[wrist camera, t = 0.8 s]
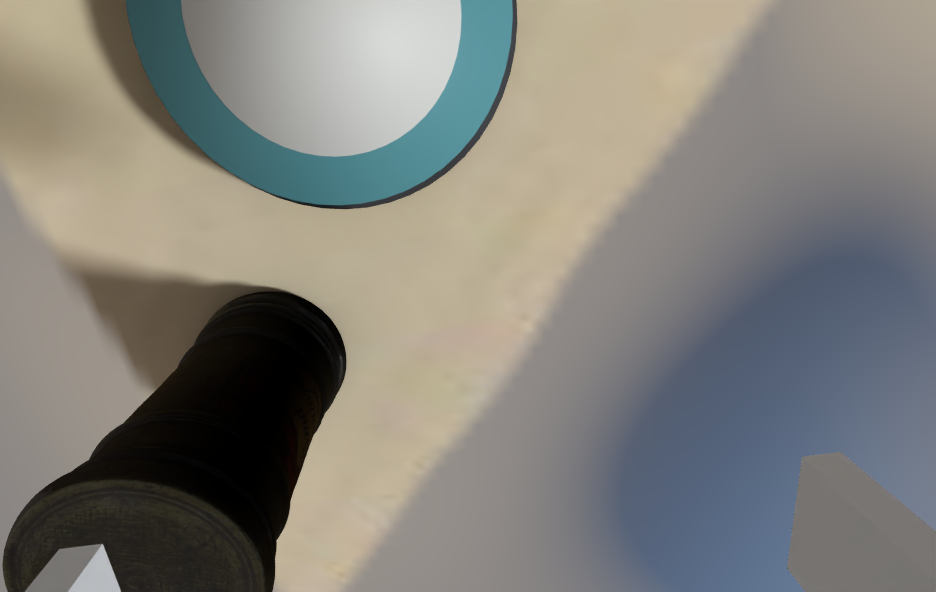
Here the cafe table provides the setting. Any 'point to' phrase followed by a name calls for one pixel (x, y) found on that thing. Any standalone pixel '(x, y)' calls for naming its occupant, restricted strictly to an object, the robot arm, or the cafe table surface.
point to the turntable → (326, 86)
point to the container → (198, 460)
